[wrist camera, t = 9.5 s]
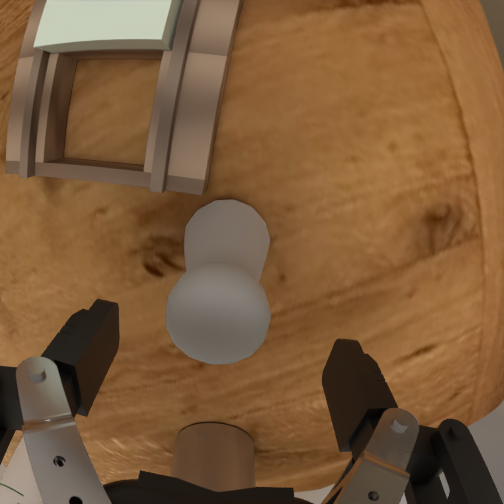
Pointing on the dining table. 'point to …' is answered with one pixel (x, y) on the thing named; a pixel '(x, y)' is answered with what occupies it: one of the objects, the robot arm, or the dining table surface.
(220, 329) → the salt shaker
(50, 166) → the board
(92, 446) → the dining table surface
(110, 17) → the cover
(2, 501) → the cylindrical container
